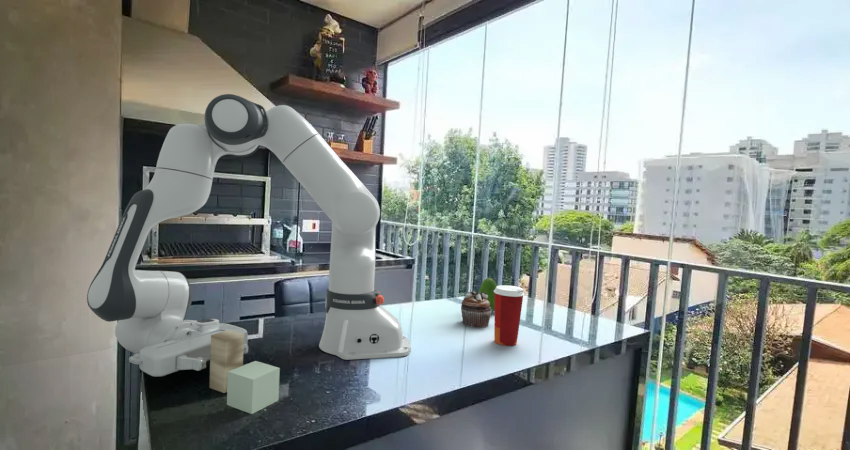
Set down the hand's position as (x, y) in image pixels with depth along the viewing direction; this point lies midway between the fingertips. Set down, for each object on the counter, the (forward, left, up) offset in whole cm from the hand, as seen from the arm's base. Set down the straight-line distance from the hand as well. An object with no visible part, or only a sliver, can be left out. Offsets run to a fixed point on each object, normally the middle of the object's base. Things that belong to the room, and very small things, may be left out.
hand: (225, 357), depth 83 cm
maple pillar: (0, 0, -6) cm, 6 cm away
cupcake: (-60, -45, -6) cm, 75 cm away
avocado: (-68, -59, -6) cm, 90 cm away
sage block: (-7, +7, -6) cm, 11 cm away
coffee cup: (-64, -28, -6) cm, 70 cm away
